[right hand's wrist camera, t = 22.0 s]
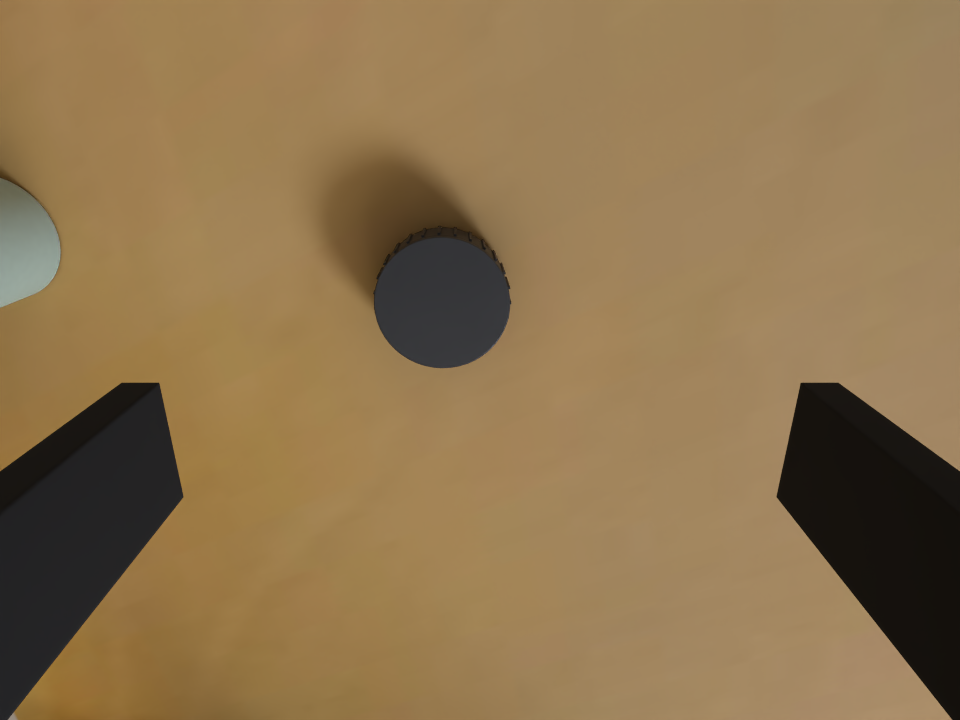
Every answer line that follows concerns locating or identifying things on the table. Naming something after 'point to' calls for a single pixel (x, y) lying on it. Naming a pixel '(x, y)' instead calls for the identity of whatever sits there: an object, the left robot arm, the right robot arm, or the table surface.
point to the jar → (25, 245)
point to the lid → (442, 298)
